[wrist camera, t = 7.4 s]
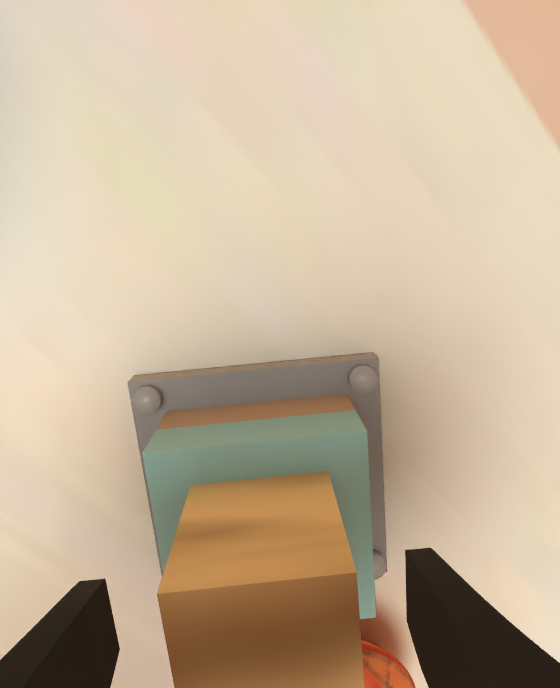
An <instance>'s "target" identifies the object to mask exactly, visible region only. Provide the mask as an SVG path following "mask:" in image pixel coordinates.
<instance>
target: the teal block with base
mask: <svg viewBox="0 0 560 688" xmlns="http://www.w3.org/2000/svg"><path fill="white" fill-rule="evenodd" d="M128 387H129V393H130V398H131V405H132V410H133V415H134V421H135V427H136V432H137V438H138V444H139V449H140V455H141V461H142V466H143V472H144V478H145V483H146V489H147V495H148V500H149V506H150V512H151V517H152V523H153V529H154V534H155V540H156V545H157V551H158V557H159V562H160V568H161V574H162V576H163V573H164V570H165V567H166V563H167V560H168V557H169V554H170V550H171V547H172V544H173V541H174V538H175V534H176V531H177V528H178V525H179V521H180V518H181V515H182V512H183V508H184V505H185V502H186V499H187V495H188V492H189V489H190V486H191V485H200V484H209V483H219V482H228V481H238V480H247V479H257V478H267V477H276V476H286V475H295V474H305V473H314V472H324V471H328V472H329V476H330V479H331V483H332V486H333V490H334V494H335V497H336V501H337V504H338V508H339V511H340V515H341V518H342V522H343V525H344V529H345V532H346V536H347V539H348V543H349V546H350V550H351V554H352V557H353V561H354V564H355V568H356V571H357V583H358V598H359V614H360V619H367V618H376V604H375V583H374V579H377V578H379V577H381V576H382V575H383V574H384V573H385V572H387V557H386V533H385V508H384V483H383V459H382V434H381V410H380V385H379V361H378V357H377V356H376V355H375V354H374V353H363V354H352V355H342V356H332V357H321V358H311V359H300V360H290V361H280V362H269V363H259V364H249V365H238V366H228V367H217V368H207V369H197V370H186V371H176V372H166V373H155V374H145V375H134V376H133V377H132V378H131V379H130V380H129V381H128Z"/></svg>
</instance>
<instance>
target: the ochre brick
mask: <svg viewBox="0 0 560 688" xmlns="http://www.w3.org/2000/svg"><path fill="white" fill-rule="evenodd" d="M157 596H158V601H159V607H160V612H161V617H162V623H163V628H164V633H165V639H166V644H167V650H168V655H169V660H170V666H171V671H172V676H173V682H174V687H175V688H364V676H363V660H362V645H361V629H360V614H359V598H358V583H357V571H356V568H355V564H354V561H353V557H352V554H351V550H350V546H349V543H348V539H347V536H346V532H345V529H344V525H343V522H342V518H341V515H340V511H339V508H338V504H337V501H336V497H335V494H334V490H333V486H332V483H331V479H330V476H329V472H328V471H324V472H314V473H305V474H295V475H286V476H276V477H267V478H257V479H247V480H238V481H228V482H219V483H209V484H200V485H191V486H190V489H189V492H188V495H187V499H186V502H185V505H184V508H183V512H182V515H181V518H180V521H179V525H178V528H177V531H176V534H175V538H174V541H173V544H172V547H171V550H170V554H169V557H168V560H167V563H166V567H165V570H164V573H163V576H162V580H161V583H160V586H159V589H158V593H157Z"/></svg>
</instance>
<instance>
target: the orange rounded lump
mask: <svg viewBox="0 0 560 688" xmlns="http://www.w3.org/2000/svg"><path fill="white" fill-rule="evenodd" d="M361 645H362V660H363V676H364V688H415V685H414V682H413V680H412V678H411V676H410V674H409V673H408V671H407V670H406V668H405V667H404V666H403V665H402V664H401V663H400V662H399V661H398V660H397V659H396V658H395V657H394V656H392V655H391V654H390V653H388V652H387V651H385V650H384V649H382V648H380V647H378V646H376V645H374V644H372V643H369V642H366V641H363V640H361Z"/></svg>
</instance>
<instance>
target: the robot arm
mask: <svg viewBox="0 0 560 688" xmlns="http://www.w3.org/2000/svg"><path fill="white" fill-rule="evenodd" d="M405 556H406V603H407V623H408V627H409V630H410V633H411V637H412V640H413V644H414V647H415V650H416V653H417V657H418V660H419V663H420V666H421V669H422V672H423V674H424V677H425V679H426V682H427V684H428V687H429V688H560V663H559V662H558V661H556V660H555V659H554V658H552V657H551V656H550V655H549V654H547V653H546V652H545V651H544V650H543V649H541V648H540V647H539V646H538V645H536V644H535V643H534V642H533V641H532V640H530V639H529V638H528V637H527V636H526V635H524V634H523V633H522V632H521V631H520V630H519V629H517V628H516V627H515V626H514V625H513V624H512V623H510V622H509V621H508V620H507V619H506V618H505V617H504V616H503V615H501V614H500V613H499V612H498V611H497V610H496V609H495V608H494V607H493V606H491V605H490V604H489V603H488V602H487V601H486V600H485V599H484V598H483V597H482V596H481V595H479V594H478V593H477V592H476V591H475V590H474V589H473V588H472V587H471V586H470V585H469V584H468V583H467V582H466V581H465V580H464V579H463V578H462V577H460V576H459V575H458V574H457V573H456V572H455V571H454V570H453V569H452V568H451V567H450V566H449V565H448V564H447V563H446V562H445V561H444V560H443V559H442V558H441V557H440V556H439V555H438V554H437V553H436V552H435V551H434V550H433V549H431V548H423V549H413V550H405ZM119 650H120V648H119V643H118V639H117V634H116V629H115V624H114V619H113V614H112V609H111V604H110V600H109V595H108V590H107V585H106V580H105V579H98V580H88V581H80V582H78V583H77V584H76V585H75V586H74V587H73V588H72V589H71V590H70V591H69V592H68V593H67V594H66V595H65V596H64V597H63V598H62V599H61V600H60V601H59V602H58V603H57V604H56V605H55V606H54V607H53V608H52V609H51V610H50V611H49V612H48V613H47V614H46V615H45V616H44V617H43V618H42V619H41V620H40V621H39V622H38V623H37V624H36V625H35V626H34V627H33V628H32V629H31V630H30V631H29V632H28V633H27V634H26V635H25V636H24V637H23V638H22V639H21V640H20V641H19V642H18V643H17V644H16V645H15V646H14V647H13V648H12V649H11V650H10V651H9V652H8V653H7V654H6V655H5V656H4V657H3V658H2V659H1V660H0V688H110V686H111V683H112V679H113V675H114V671H115V666H116V662H117V658H118V654H119Z"/></svg>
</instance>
